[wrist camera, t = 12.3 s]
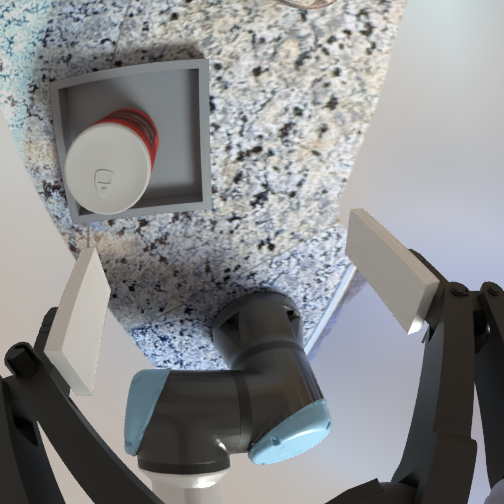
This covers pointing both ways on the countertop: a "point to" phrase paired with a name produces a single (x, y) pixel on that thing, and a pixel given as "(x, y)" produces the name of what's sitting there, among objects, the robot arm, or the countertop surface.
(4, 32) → the countertop surface
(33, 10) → the countertop surface
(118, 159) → the canned food
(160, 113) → the tray
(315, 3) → the pottery
